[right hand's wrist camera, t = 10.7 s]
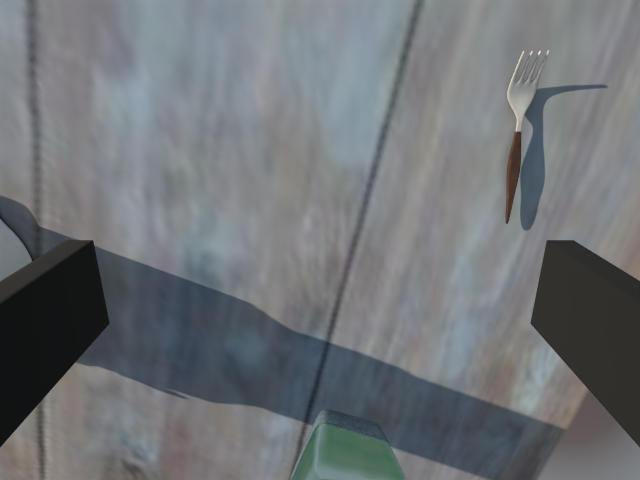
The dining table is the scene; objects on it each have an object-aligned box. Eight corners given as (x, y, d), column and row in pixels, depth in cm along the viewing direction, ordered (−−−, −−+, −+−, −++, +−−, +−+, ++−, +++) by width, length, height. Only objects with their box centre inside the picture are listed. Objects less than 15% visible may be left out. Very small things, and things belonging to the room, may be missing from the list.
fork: (491, 222, 43) (499, 228, 41) (511, 52, 38) (521, 51, 36) (517, 221, 43) (526, 227, 41) (540, 51, 38) (552, 50, 36)
